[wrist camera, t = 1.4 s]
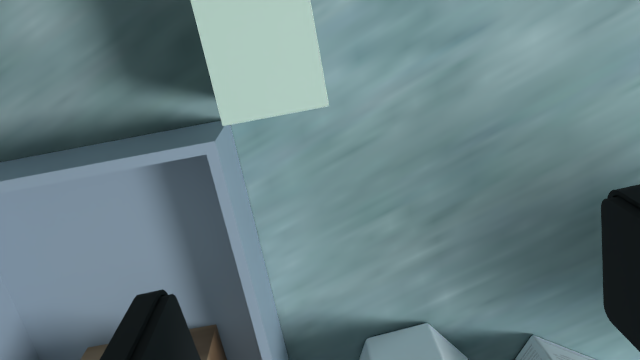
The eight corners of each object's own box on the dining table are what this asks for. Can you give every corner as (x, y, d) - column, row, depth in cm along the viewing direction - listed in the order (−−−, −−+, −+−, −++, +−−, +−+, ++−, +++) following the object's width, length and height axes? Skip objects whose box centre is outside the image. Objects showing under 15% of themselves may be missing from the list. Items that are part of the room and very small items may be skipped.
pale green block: (214, -6, 27) (187, -12, 20) (302, -24, 27) (304, -34, 20) (239, 99, 29) (222, 126, 22) (322, 84, 29) (328, 106, 22)
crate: (-47, 171, 30) (-116, 203, 25) (228, 119, 29) (214, 140, 24) (77, 440, 37) (43, 506, 32) (299, 401, 37) (299, 461, 32)
